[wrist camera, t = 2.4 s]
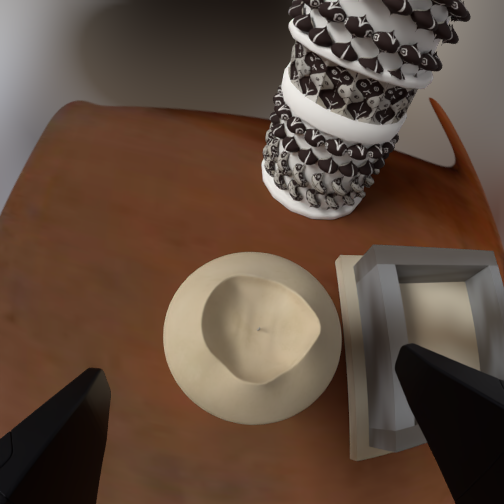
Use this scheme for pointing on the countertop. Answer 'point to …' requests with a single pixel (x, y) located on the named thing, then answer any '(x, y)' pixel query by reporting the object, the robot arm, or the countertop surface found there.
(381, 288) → the square tray
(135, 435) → the countertop surface
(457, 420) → the robot arm
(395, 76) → the decorative candle
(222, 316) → the candle
